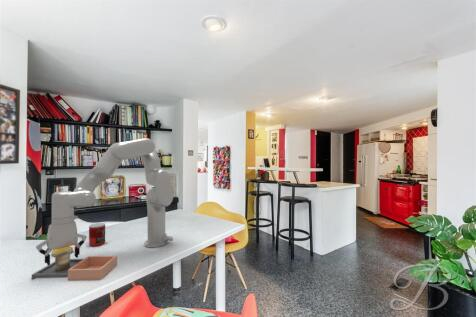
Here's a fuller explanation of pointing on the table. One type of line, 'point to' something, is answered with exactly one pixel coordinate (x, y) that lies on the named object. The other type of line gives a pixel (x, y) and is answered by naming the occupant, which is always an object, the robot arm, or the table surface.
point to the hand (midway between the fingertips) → (62, 260)
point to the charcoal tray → (50, 270)
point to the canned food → (96, 234)
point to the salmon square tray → (92, 268)
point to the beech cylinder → (62, 261)
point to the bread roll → (62, 250)
